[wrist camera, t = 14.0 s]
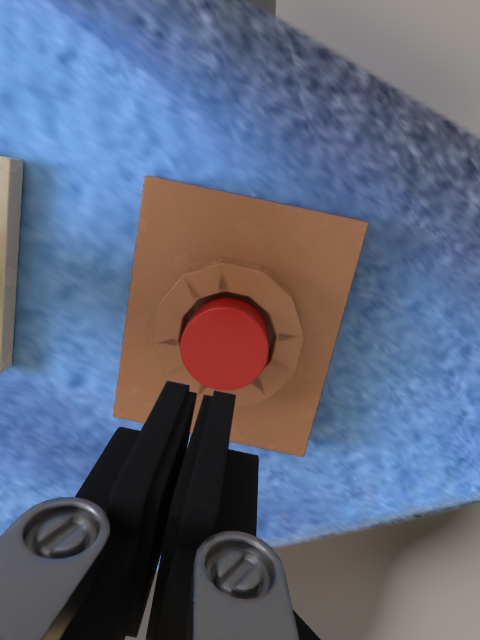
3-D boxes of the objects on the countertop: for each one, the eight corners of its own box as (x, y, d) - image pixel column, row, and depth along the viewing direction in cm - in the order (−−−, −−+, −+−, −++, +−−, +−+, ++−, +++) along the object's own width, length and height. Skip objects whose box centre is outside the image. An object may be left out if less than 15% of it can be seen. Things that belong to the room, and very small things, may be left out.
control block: (156, 176, 21) (132, 173, 18) (359, 219, 21) (379, 224, 18) (125, 398, 25) (99, 435, 21) (300, 435, 25) (306, 479, 21)
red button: (194, 289, 19) (187, 298, 17) (276, 306, 19) (277, 317, 17) (181, 365, 20) (173, 381, 18) (259, 382, 20) (258, 399, 18)
